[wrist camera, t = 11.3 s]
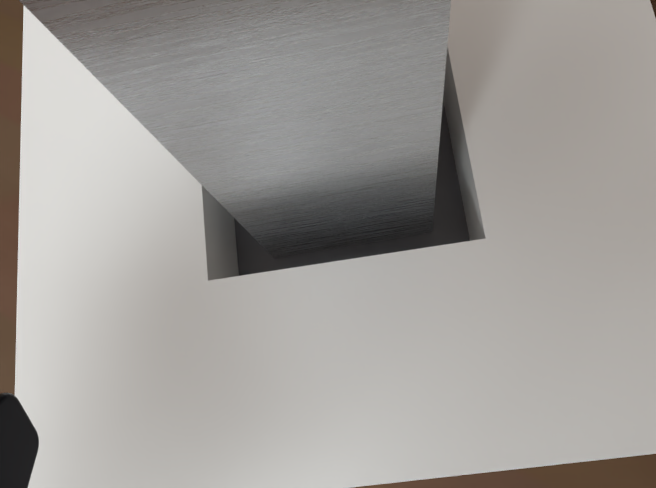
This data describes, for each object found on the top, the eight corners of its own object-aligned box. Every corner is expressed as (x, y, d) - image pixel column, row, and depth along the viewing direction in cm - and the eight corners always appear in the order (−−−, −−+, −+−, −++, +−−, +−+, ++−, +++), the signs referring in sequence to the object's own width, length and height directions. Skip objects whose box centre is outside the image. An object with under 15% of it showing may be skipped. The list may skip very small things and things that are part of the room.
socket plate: (713, 431, 14) (787, 439, 11) (84, 503, 16) (11, 524, 13) (562, -103, 19) (589, -195, 16) (80, -2, 20) (25, -68, 18)
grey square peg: (432, 232, 16) (476, -324, 4) (274, 258, 17) (-143, -164, 4) (405, 89, 17) (373, -688, 5) (258, 117, 18) (-103, -531, 6)
